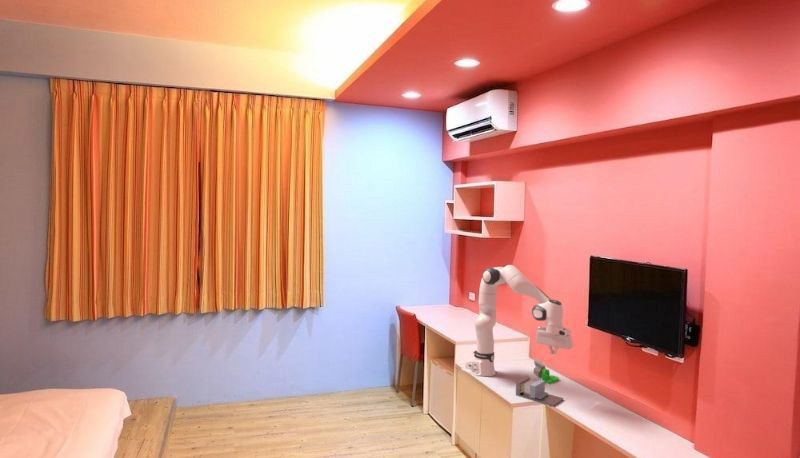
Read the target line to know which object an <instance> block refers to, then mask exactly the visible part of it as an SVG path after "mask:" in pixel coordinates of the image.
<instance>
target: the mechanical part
mask: <svg viewBox="0 0 800 458" xmlns="http://www.w3.org/2000/svg"><path fill="white" fill-rule="evenodd" d="M541 380H543V381H545V384H549V385H552V384H554V382H555V383H558V382H559V380H560V378H559V377H558V376H556V375H550V369H547V368H546V369H543V371H542V377H541Z"/></svg>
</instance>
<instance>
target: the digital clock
mask: <svg viewBox="0 0 800 458" xmlns="http://www.w3.org/2000/svg"><path fill="white" fill-rule="evenodd" d="M533 362H534V363H533V364H534V368H533V374H534V375H535V376H536V377H537V378H542V371H543V369H547V368H546V365H544V363H542V362H541V361H539V360H537V359H534V360H533Z"/></svg>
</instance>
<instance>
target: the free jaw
mask: <svg viewBox="0 0 800 458" xmlns="http://www.w3.org/2000/svg"><path fill="white" fill-rule="evenodd" d="M534 382H535V383H533V384H531V385H530V397H531V398H534V399H535V398H537V399H542V398H544V397H546V396H547V395H548V394H550V393H549V392H546V391H545V388H546V383H545V381H543V380H542V379H539V380H537V381H534Z"/></svg>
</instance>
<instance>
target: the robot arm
mask: <svg viewBox="0 0 800 458" xmlns="http://www.w3.org/2000/svg"><path fill="white" fill-rule="evenodd" d="M499 285H507V286H508V287H509V288H510V289H511V291H513V292H514V293H516V294H519V295H523V296H524V295H525V296H528V297H531V298H534V300H536V301H537V303H538V304H537V303H536V304H535V305H533V307H532V310H531V313H532V314H531V315H532V316H533V318H534V320H536V321H539V322H545V327H542V326H538V327H537V328H536V335H535V336H536V337H535V342H536V343H537V344H541V345H544V346H545V345H547V346H548V349H549V351H550V354H552V355H557V353H558V350H559V348H561V349H565V350H571V349H572V348H573V337H572V335H571V334H572V330H570V329H568V328H566V326H564V325H563V319H564V309H563V304H562V302H561V301H560V300H556V299H551V298H550V297H549V296H548V295H547V294H546V293H545V292H543V290H542V289H541V288H540V287H538V286H537V285H536V284H534V283H533V282H531V281H530V280H529V279H528V278H527V276H525V275H524V273H523V272H522V271H520V269H518V268H517V267H516V266H514V265H513V264H507V265H505V266H496V267H495V266H494V267H488V268H485V269H484V270H483V271H482V278H481V280H480V285H479V290H478V291H479V293H478V308H479V311H478V312H479V314H478V315H479V316H478V317H477V318H476V319H475V323H474V327H475V334H476V335H475V336H476V349H475V350H474V351H473V352H472V355H473V356H471V357H470V358H468V359H467V360H466V361H465V364H464V366H463V367H461V371H463V372H466V373H469V374H471V375H473V376H475V377H493V376H495V375H496V369H495V352H494V351H495V350H494V349H495V346H494V345H495V339H494V333H493V332H494V326H495V325H496V324H497V308H496V307H497V306H496V305H497V304H496V303H497V291H498V286H499ZM553 347H554V349H555V350H554V349H553Z"/></svg>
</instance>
